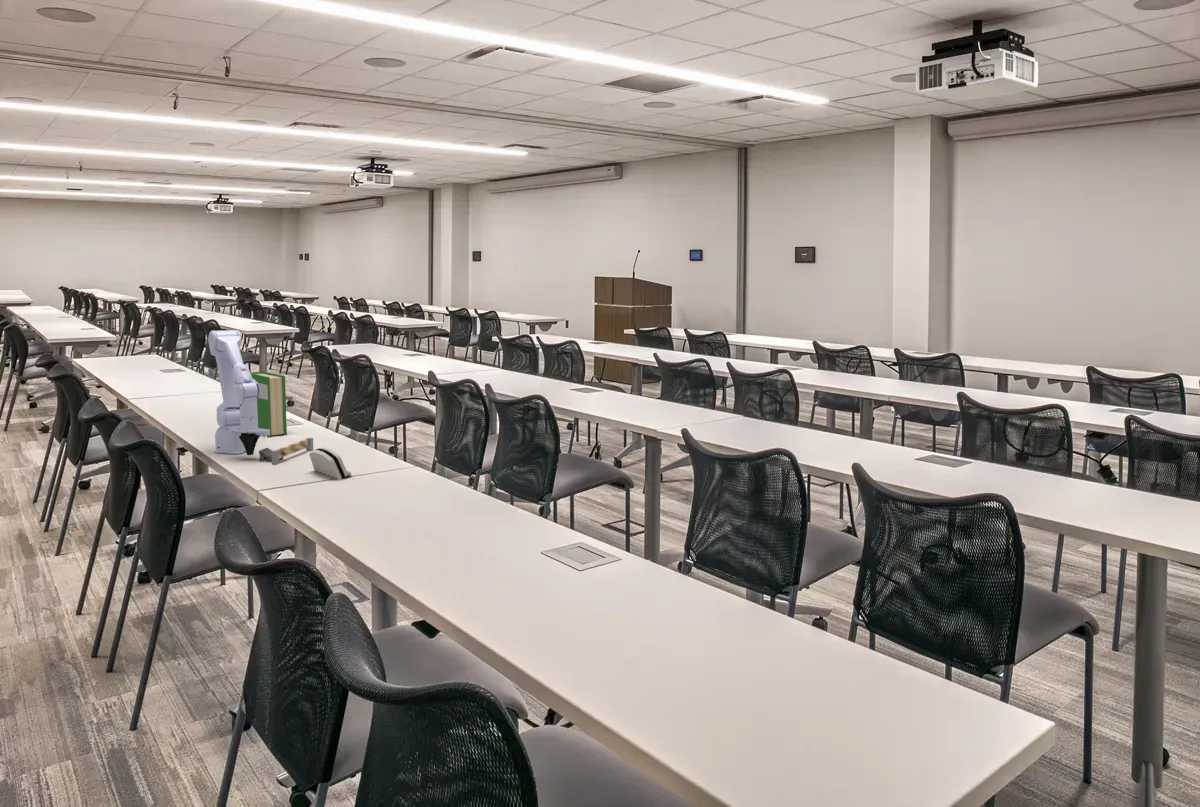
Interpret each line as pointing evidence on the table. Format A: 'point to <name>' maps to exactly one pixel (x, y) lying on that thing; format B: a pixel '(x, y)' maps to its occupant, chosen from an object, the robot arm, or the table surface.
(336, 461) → the grey arched piece
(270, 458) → the wedge
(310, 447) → the pair of grey posts
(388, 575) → the table surface
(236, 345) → the robot arm
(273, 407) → the hardback book
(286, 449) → the gate
